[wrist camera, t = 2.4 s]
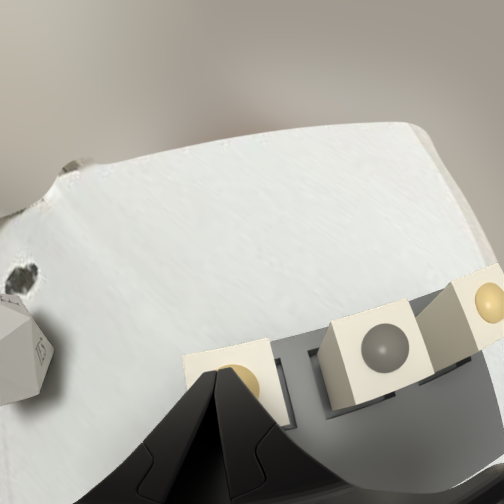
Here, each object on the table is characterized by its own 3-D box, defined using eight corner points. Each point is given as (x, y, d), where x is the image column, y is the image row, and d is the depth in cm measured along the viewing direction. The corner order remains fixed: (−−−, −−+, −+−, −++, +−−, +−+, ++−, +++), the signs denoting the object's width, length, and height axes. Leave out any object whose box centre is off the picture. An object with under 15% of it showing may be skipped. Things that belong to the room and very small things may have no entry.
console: (483, 450, 13) (507, 450, 11) (239, 537, 13) (231, 554, 10) (437, 301, 20) (455, 283, 17) (201, 368, 19) (187, 359, 17)
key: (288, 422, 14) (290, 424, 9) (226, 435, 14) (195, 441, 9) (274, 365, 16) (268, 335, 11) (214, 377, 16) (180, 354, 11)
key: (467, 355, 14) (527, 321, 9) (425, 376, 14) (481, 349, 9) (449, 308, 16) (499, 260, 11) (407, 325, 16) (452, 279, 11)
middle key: (389, 391, 14) (436, 372, 9) (332, 410, 14) (357, 404, 9) (372, 337, 16) (408, 295, 11) (316, 354, 16) (331, 319, 11)
